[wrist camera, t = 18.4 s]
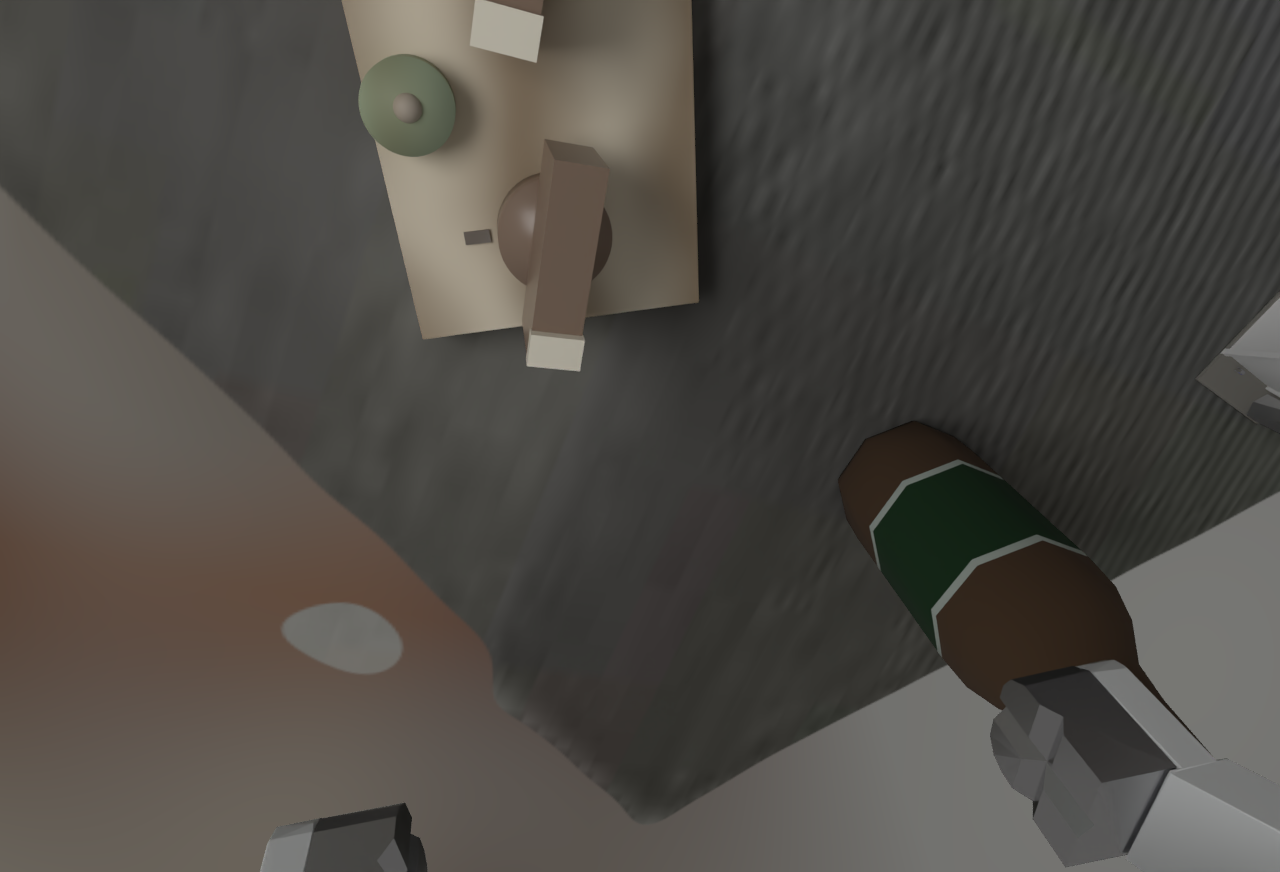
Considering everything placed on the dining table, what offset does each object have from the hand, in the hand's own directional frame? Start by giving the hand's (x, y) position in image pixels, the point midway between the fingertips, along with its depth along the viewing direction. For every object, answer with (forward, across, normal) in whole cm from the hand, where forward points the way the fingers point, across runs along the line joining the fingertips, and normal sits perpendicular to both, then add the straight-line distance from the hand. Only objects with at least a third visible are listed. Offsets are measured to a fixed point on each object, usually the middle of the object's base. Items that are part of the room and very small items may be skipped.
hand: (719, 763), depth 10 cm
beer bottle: (+26, -18, +16) cm, 36 cm away
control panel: (+26, 0, -6) cm, 27 cm away
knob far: (+24, 0, -1) cm, 24 cm away
